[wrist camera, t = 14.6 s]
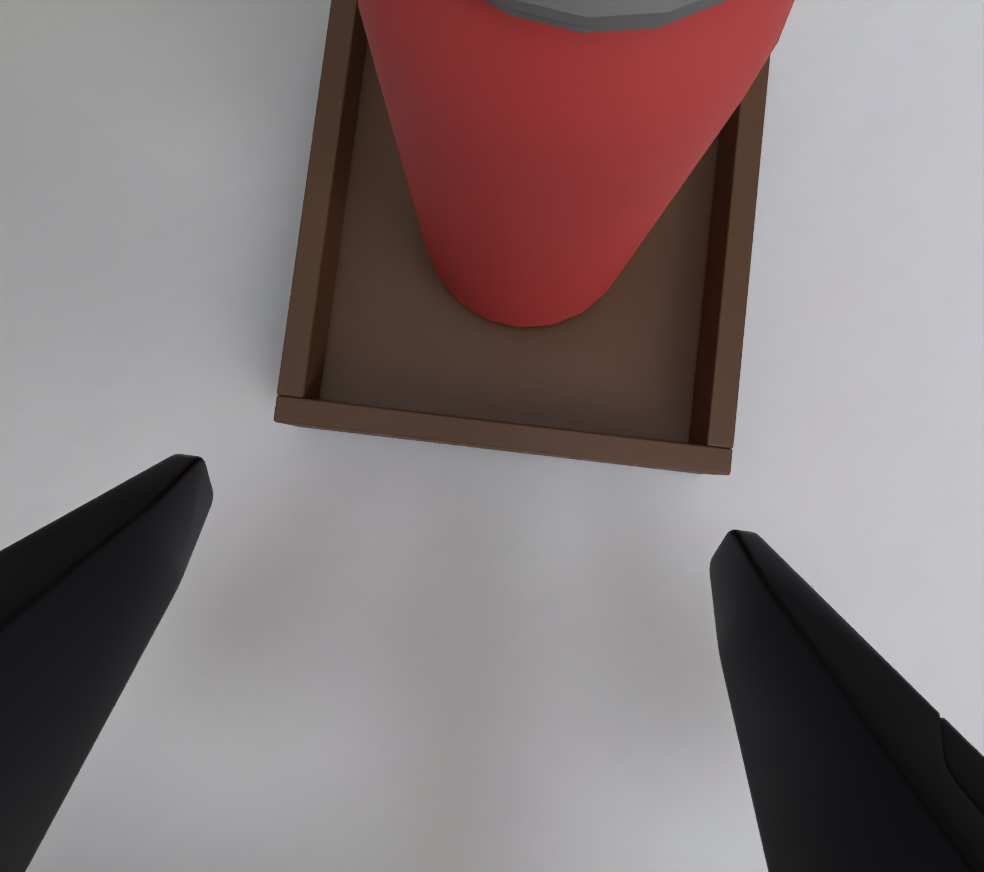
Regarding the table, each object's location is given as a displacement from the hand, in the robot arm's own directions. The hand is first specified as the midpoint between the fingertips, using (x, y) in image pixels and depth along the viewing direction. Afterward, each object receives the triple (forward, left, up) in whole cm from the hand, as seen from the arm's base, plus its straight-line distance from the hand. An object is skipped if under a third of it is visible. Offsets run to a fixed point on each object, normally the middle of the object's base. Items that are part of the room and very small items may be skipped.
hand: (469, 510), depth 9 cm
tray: (+3, -8, -9) cm, 12 cm away
